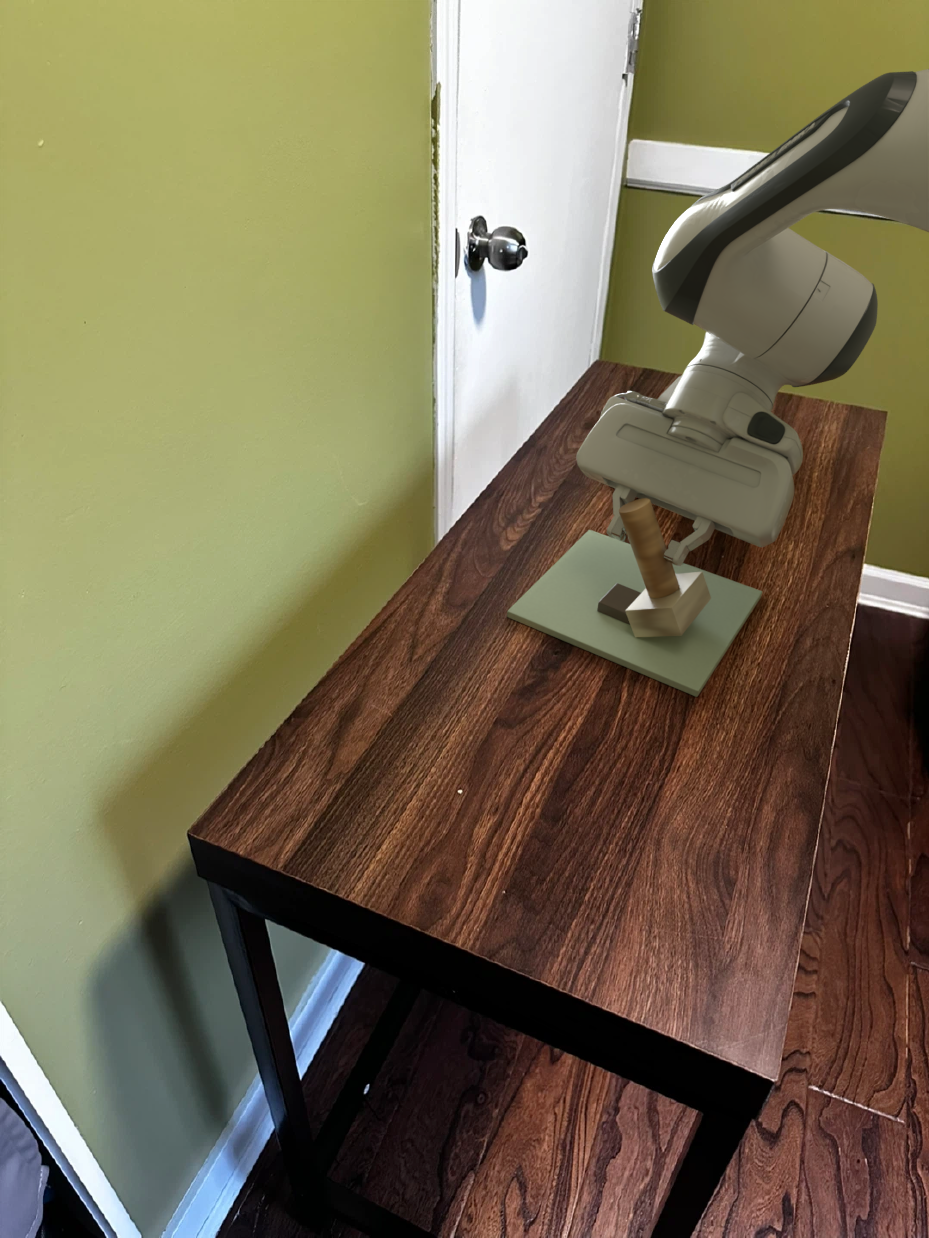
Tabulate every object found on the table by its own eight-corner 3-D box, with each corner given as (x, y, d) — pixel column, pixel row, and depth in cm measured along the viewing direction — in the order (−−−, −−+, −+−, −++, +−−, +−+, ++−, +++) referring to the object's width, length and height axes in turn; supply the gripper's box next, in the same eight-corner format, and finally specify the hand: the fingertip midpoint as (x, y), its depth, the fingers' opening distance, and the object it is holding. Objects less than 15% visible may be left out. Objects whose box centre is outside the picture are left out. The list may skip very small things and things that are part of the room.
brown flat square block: (650, 606, 86) (652, 596, 85) (632, 626, 83) (634, 617, 82) (615, 591, 88) (616, 582, 87) (596, 611, 85) (598, 601, 84)
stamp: (711, 598, 83) (674, 485, 79) (681, 635, 79) (640, 517, 74) (666, 601, 86) (628, 493, 82) (634, 637, 82) (593, 525, 78)
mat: (761, 597, 89) (763, 591, 88) (697, 697, 77) (698, 691, 76) (588, 535, 97) (589, 529, 96) (506, 617, 85) (506, 610, 85)
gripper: (607, 370, 82) (539, 499, 82) (816, 440, 72) (738, 584, 72) (624, 399, 87) (560, 519, 87) (819, 467, 78) (747, 601, 78)
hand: (642, 549), depth 80 cm, fingers closed on stamp, 5 cm apart
